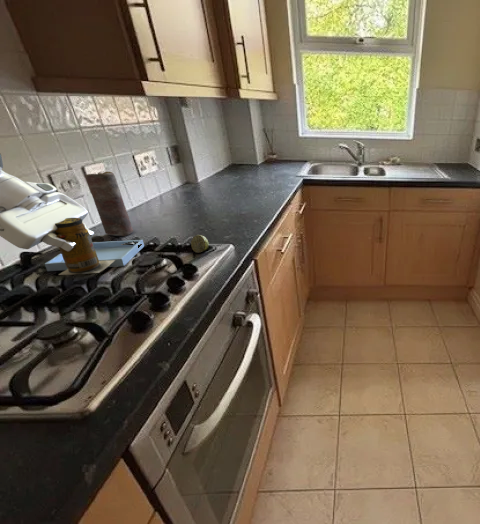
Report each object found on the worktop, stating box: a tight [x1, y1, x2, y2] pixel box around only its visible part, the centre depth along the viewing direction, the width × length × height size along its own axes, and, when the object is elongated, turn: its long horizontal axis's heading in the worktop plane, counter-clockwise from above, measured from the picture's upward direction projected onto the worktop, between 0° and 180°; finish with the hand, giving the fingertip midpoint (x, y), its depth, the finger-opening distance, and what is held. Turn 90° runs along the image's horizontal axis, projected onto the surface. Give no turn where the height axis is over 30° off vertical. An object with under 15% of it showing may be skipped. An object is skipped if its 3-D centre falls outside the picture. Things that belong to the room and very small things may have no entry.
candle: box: [84, 171, 134, 237], centre depth 104 cm, size 8×7×20 cm
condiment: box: [55, 218, 115, 276], centre depth 78 cm, size 7×8×12 cm
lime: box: [190, 234, 210, 254], centre depth 96 cm, size 4×5×5 cm
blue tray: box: [44, 239, 145, 272], centre depth 91 cm, size 17×14×2 cm
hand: (82, 242), depth 78 cm, fingers closed on condiment, 6 cm apart
